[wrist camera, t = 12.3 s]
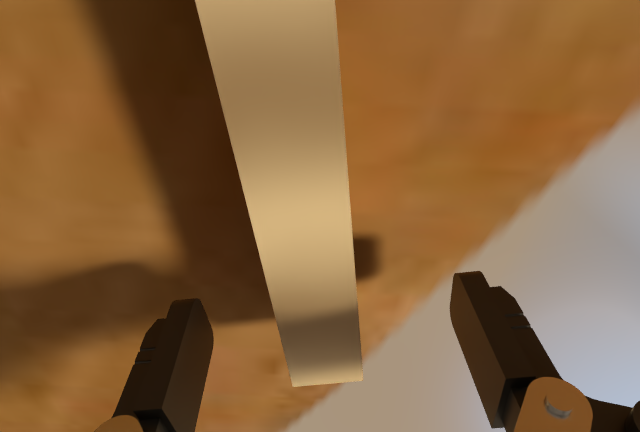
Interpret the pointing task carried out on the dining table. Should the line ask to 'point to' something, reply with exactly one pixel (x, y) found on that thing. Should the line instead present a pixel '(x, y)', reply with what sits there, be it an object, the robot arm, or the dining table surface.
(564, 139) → the dining table surface
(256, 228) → the beige bar
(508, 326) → the robot arm
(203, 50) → the dining table surface
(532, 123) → the dining table surface
